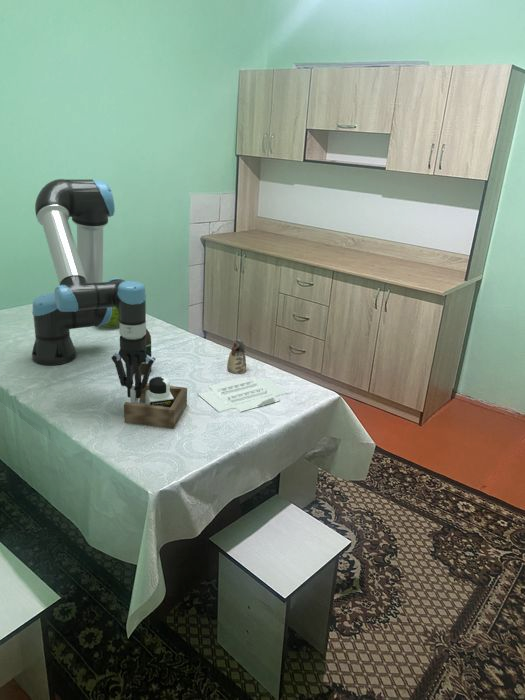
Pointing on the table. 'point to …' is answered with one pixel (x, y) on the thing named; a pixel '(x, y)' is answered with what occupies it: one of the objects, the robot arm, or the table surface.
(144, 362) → the beer bottle
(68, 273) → the robot arm
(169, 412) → the box
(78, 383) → the table surface
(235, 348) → the figurine
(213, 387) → the tray
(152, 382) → the medicine bottle
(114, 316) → the lettuce
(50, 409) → the table surface
